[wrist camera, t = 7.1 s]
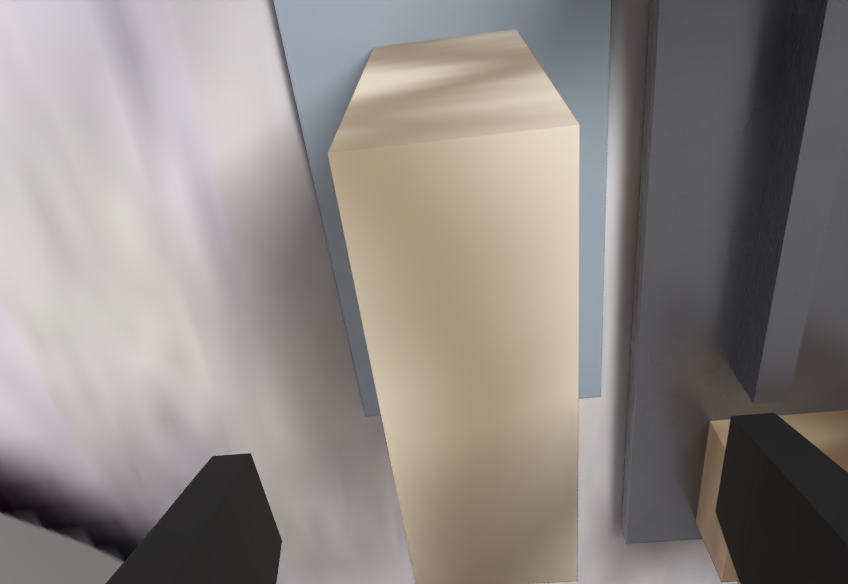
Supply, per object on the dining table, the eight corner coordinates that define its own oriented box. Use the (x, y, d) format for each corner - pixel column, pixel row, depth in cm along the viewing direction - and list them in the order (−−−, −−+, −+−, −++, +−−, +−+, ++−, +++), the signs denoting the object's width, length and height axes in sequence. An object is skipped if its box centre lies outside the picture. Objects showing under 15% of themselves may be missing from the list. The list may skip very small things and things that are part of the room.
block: (515, 28, 16) (580, 124, 9) (530, 357, 21) (577, 581, 14) (374, 46, 16) (327, 153, 9) (422, 367, 21) (416, 591, 14)
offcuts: (933, 398, 21) (1063, 527, 16) (892, 508, 23) (995, 643, 19) (710, 416, 21) (780, 545, 17) (695, 521, 24) (752, 656, 20)
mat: (609, -84, 15) (613, -84, 14) (598, 391, 22) (600, 396, 21) (268, -37, 15) (264, -37, 15) (366, 410, 22) (365, 416, 22)
